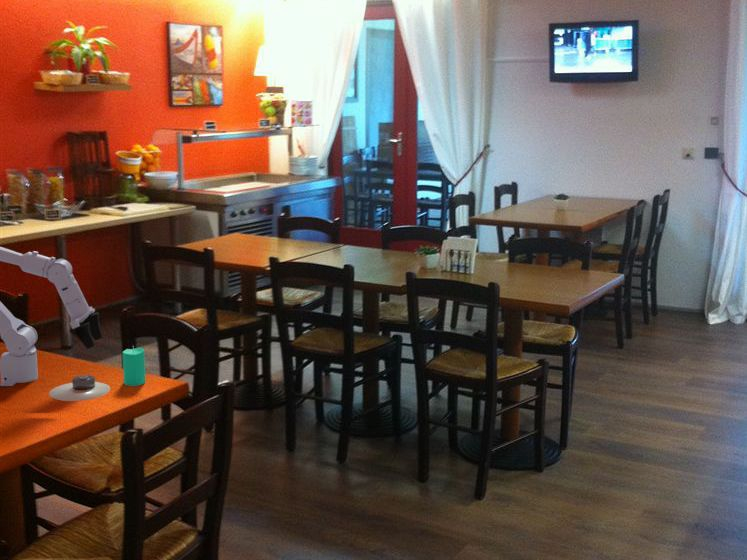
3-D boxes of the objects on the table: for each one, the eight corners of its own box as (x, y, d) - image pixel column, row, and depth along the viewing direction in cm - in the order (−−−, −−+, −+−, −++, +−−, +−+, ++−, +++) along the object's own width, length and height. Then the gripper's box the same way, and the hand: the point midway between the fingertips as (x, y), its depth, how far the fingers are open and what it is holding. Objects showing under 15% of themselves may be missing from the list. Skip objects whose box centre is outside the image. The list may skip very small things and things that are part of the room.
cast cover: (69, 390, 248) (69, 379, 247) (76, 383, 253) (76, 372, 253) (91, 390, 248) (90, 380, 247) (97, 383, 253) (97, 373, 253)
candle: (148, 383, 258) (147, 343, 255) (141, 390, 252) (139, 349, 249) (128, 382, 258) (126, 342, 256) (120, 389, 253) (118, 348, 250)
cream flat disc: (40, 404, 239) (40, 400, 239) (61, 385, 255) (60, 381, 255) (100, 405, 240) (100, 401, 239) (117, 385, 255) (117, 381, 255)
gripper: (78, 302, 246) (100, 346, 249) (94, 288, 260) (114, 330, 263) (55, 311, 246) (77, 355, 249) (72, 297, 260) (92, 339, 264)
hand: (94, 343), depth 256 cm, fingers open, 7 cm apart
